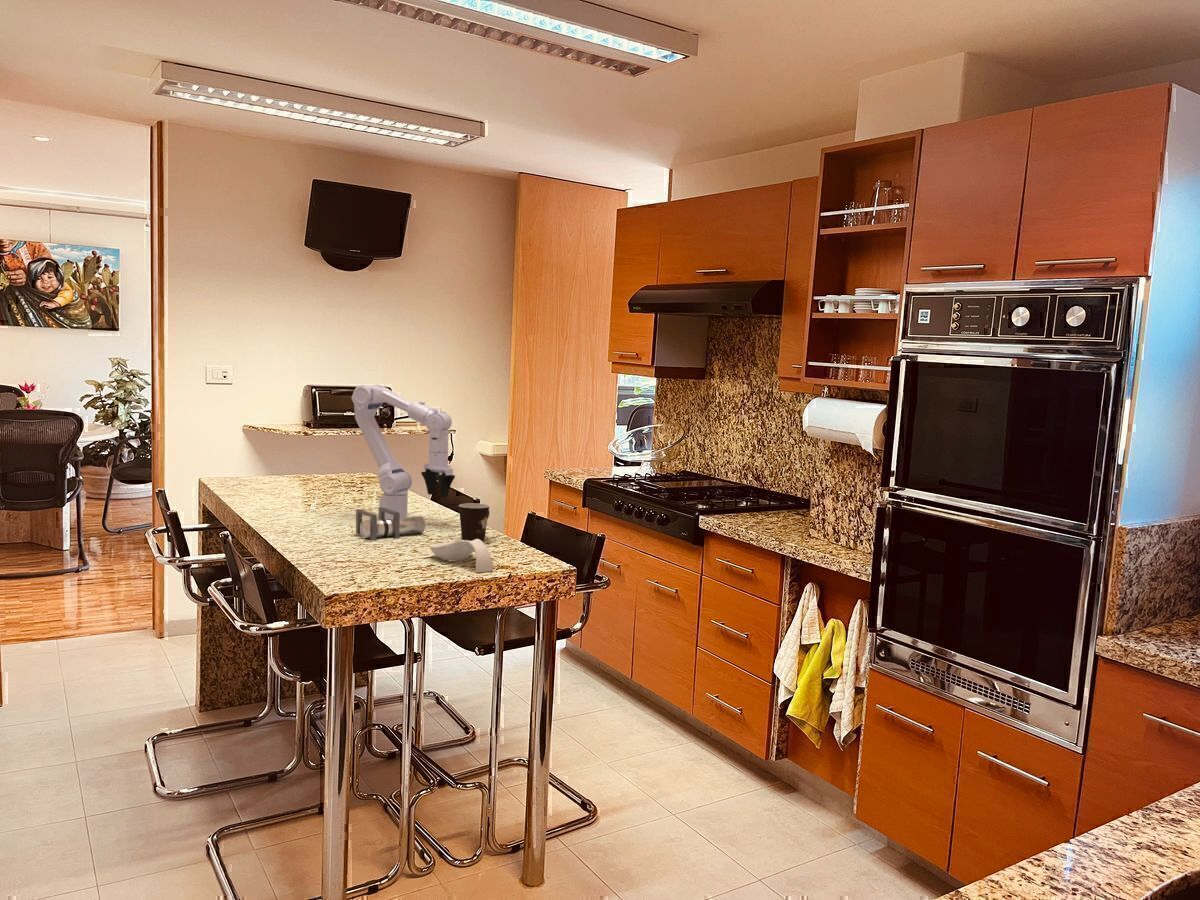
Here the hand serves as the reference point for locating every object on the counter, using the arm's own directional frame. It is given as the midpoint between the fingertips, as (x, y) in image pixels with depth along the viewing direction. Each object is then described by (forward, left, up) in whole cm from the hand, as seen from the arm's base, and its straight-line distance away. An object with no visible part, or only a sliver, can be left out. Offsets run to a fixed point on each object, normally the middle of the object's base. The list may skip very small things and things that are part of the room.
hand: (437, 495), depth 276 cm
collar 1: (+6, -26, -9) cm, 28 cm away
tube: (+6, -18, -9) cm, 21 cm away
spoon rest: (+48, -18, -10) cm, 52 cm away
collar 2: (+6, -19, -9) cm, 22 cm away
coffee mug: (+24, 0, -10) cm, 26 cm away
